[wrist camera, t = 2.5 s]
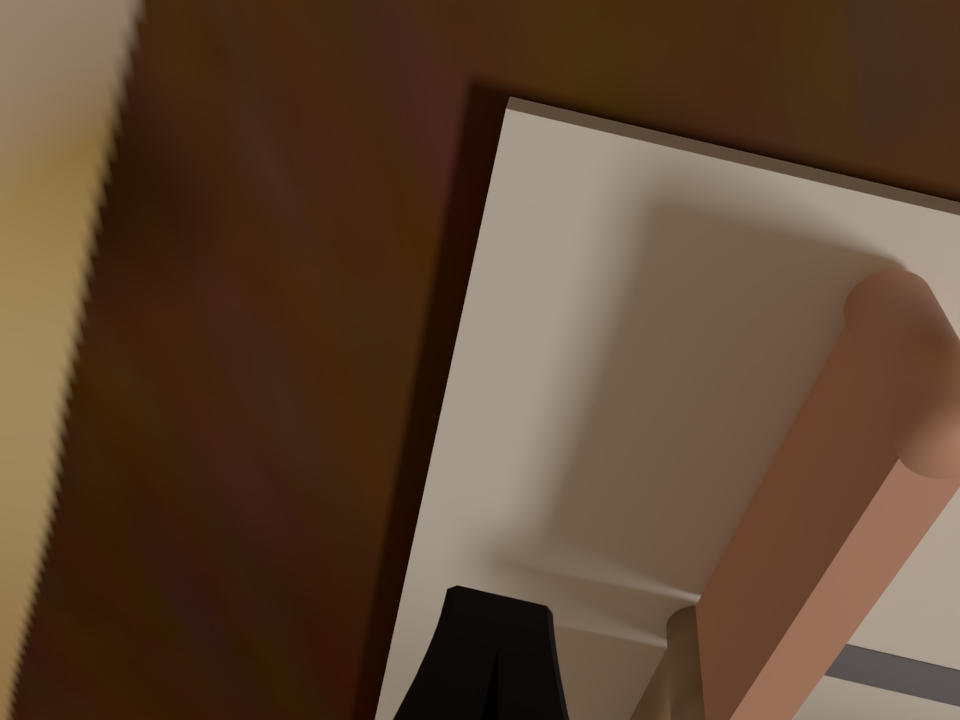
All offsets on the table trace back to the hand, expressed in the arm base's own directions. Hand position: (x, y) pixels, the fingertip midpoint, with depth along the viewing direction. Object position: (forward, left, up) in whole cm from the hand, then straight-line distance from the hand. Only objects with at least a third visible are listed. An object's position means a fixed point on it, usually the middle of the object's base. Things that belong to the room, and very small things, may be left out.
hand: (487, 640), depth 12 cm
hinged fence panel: (-6, +1, -6) cm, 8 cm away
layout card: (-8, +6, -7) cm, 12 cm away
